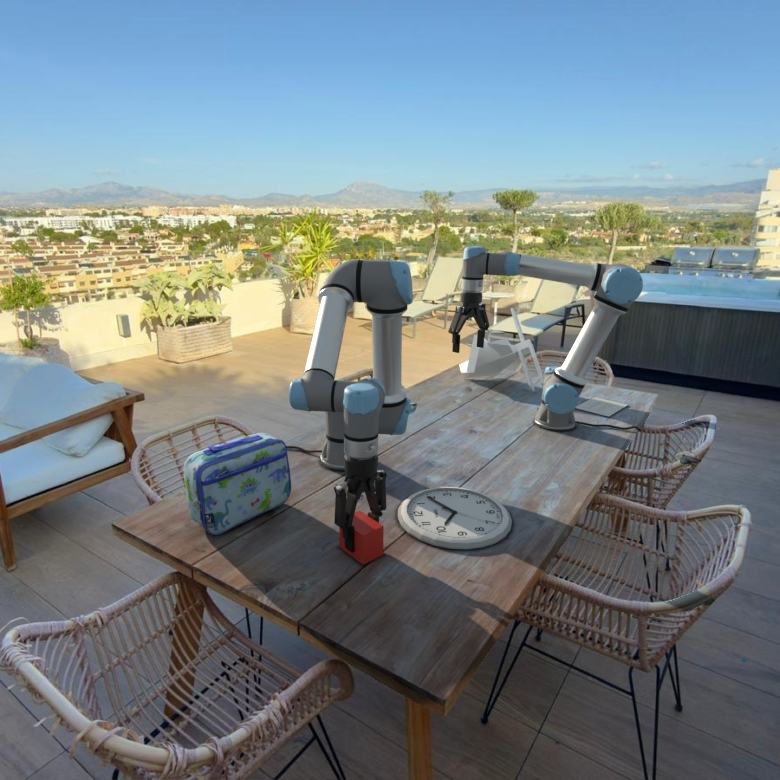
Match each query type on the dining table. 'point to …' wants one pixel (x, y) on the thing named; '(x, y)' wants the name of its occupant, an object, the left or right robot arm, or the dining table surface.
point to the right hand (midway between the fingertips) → (468, 349)
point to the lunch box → (236, 481)
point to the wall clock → (454, 518)
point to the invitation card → (601, 406)
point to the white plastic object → (500, 357)
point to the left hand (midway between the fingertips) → (361, 543)
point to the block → (365, 538)
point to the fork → (413, 402)
